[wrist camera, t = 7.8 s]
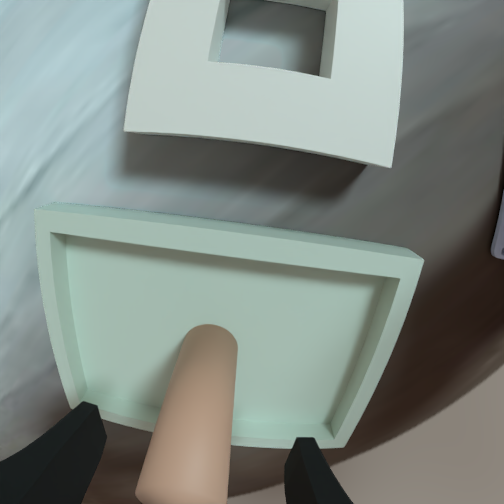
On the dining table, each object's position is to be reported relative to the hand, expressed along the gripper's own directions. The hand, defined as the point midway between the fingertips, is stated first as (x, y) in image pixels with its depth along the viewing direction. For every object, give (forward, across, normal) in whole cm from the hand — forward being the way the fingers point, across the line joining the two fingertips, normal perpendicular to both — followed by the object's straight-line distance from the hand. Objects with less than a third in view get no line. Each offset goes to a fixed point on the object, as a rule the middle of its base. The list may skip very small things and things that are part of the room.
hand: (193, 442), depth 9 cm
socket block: (+7, -1, -15) cm, 16 cm away
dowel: (+6, 0, 0) cm, 6 cm away
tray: (+7, 0, 0) cm, 7 cm away
